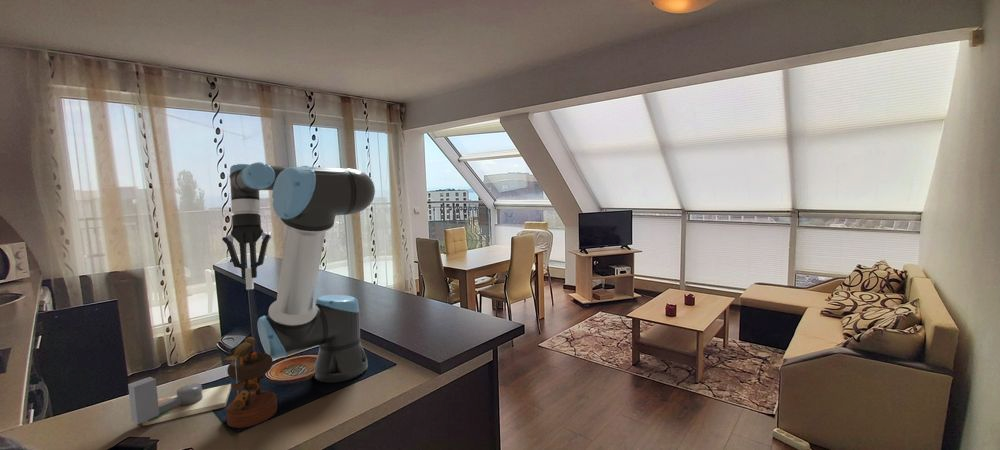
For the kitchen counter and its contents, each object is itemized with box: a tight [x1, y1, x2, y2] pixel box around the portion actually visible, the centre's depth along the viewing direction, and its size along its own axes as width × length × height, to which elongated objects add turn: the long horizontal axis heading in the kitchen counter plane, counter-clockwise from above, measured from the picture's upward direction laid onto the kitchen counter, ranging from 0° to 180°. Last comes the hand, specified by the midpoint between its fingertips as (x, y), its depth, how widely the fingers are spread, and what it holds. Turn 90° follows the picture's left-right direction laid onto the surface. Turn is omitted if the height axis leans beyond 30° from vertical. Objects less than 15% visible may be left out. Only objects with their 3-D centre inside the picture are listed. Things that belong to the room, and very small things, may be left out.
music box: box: [223, 336, 278, 429], centre depth 94 cm, size 15×11×20 cm
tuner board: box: [141, 383, 232, 427], centre depth 98 cm, size 17×12×1 cm
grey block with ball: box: [127, 376, 203, 425], centre depth 94 cm, size 14×5×9 cm, turn 153°
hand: (250, 289), depth 119 cm, fingers closed
